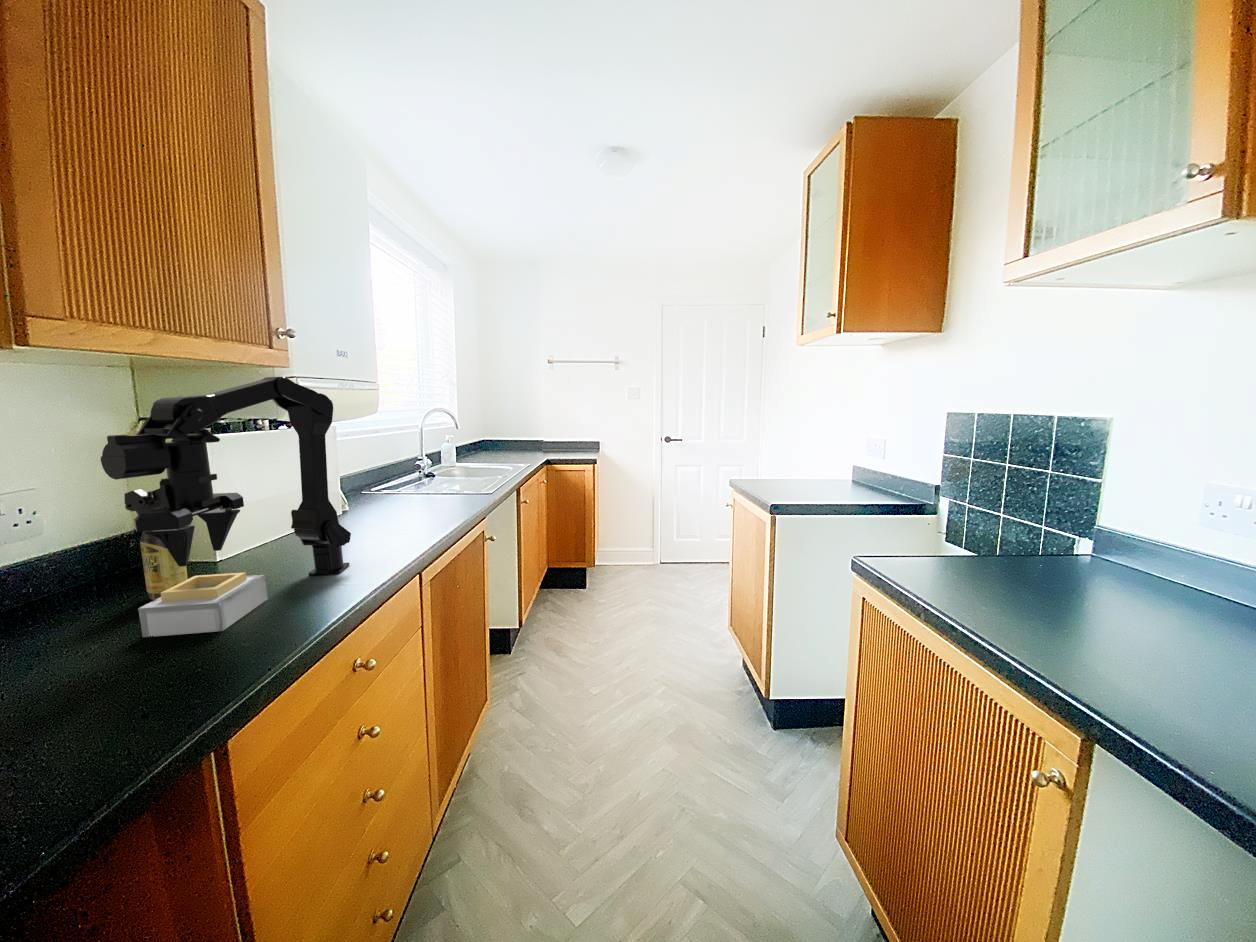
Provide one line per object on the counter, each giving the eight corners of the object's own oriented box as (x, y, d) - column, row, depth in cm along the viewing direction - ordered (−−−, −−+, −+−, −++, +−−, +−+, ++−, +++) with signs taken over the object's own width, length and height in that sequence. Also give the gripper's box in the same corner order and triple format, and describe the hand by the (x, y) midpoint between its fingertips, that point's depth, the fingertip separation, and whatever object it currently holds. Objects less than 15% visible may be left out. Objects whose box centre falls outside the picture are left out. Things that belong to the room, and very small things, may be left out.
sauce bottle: (142, 598, 102) (126, 500, 99) (181, 588, 107) (166, 495, 104) (157, 604, 99) (141, 503, 96) (196, 593, 104) (182, 497, 101)
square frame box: (199, 604, 98) (194, 571, 98) (267, 599, 100) (263, 567, 99) (142, 637, 85) (136, 599, 84) (222, 630, 87) (217, 594, 86)
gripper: (175, 465, 97) (187, 546, 99) (87, 481, 78) (104, 579, 81) (240, 463, 98) (250, 542, 100) (169, 477, 80) (183, 574, 82)
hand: (201, 557), depth 91 cm, fingers open, 9 cm apart
